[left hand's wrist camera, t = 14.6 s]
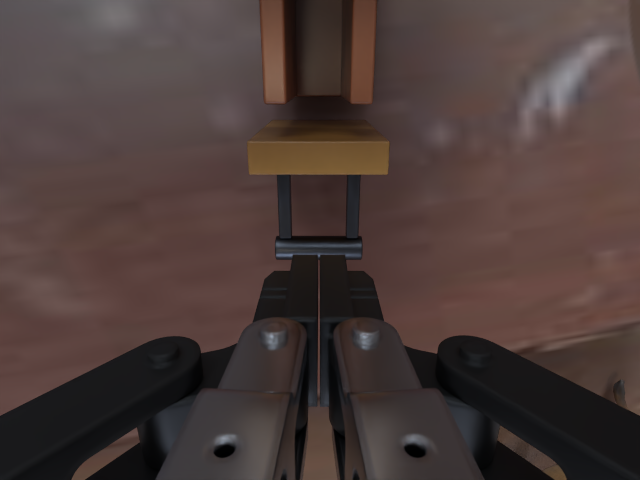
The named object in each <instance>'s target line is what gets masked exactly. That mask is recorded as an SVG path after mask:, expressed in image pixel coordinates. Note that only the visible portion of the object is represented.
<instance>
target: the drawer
mask: <svg viewBox="0 0 640 480" xmlns="http://www.w3.org/2000/svg"><path fill="white" fill-rule="evenodd" d="M259 4H260V26H261V48H262V70H263V92H264V103H265V104H286V103H287V102H289V101H290V100H292V99H293V98H294V97H296V96H342V97H343V98H344V99H346V100H347V101H348V102H349V103H351V104H372V102H373V88H374V65H375V42H376V19H377V0H259ZM389 148H390V142H389V141H388V140H387V139H386V138H385V137H384V136H382V135H381V134H380V133H379V132H378V131H377V130H376V129H375V128H374V127H372V126H371V125H370V124H369V123H368V122H367V121H366V120H272V121H271V122H270V123H269V124H267V125H266V126H265V127H264V128H263V129H262V130H260V131H259V132H258V133H257V134H256V135H255V136H253V137H252V138H251V139H250V140H249V141H248V142H247V151H248V167H249V174H250V175H277V186H278V213H279V236H276V240H275V256H276V259H277V260H292V257H293V255H318V260H320V255H345V258H346V260H361V259H362V237H361V236H358V229H359V200H360V175H387V174H388V165H389ZM291 175H347V194H346V236H292V209H291Z"/></svg>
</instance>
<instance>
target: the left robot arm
mask: <svg viewBox="0 0 640 480" xmlns="http://www.w3.org/2000/svg"><path fill="white" fill-rule="evenodd" d="M317 369H318V255H293V257H292V263H291V270H290V271H274V272H273V273H271V274H270V275H269V276H268V277H267V278H265V280H264V284H263V287H262V291H261V294H260V299H259V302H258V305H257V309H256V312H255V316H254V320H253V323H252V324H250V325H249V326H247V327H246V328H245V329H244V330H243V332H242V334H241V336H240V338H239V341H238V343H236V344H234V345H232V346H230V347H227V348H224V349H220V350H216V351H211V352H206V353H201V350H200V347H199V345H198V344H197V343H196V342H195V341H194V340H192V339H190V338H186V337H180V336H171V337H163V338H159V339H155V340H152V341H149V342H147V343H145V344H143V345H141V346H139V347H137V348H135V349H133V350H131V351H129V352H127V353H125V354H123V355H121V356H119V357H117V358H115V359H113V360H111V361H109V362H107V363H105V364H103V365H101V366H99V367H97V368H95V369H93V370H91V371H89V372H87V373H85V374H83V375H81V376H79V377H77V378H75V379H73V380H71V381H69V382H67V383H65V384H63V385H61V386H59V387H57V388H55V389H53V390H51V391H49V392H47V393H45V394H43V395H41V396H39V397H37V398H35V399H33V400H31V401H29V402H27V403H25V404H23V405H21V406H19V407H17V408H15V409H13V410H11V411H9V412H7V413H5V414H3V415H1V416H0V480H71V479H72V477H73V475H74V473H75V472H76V470H77V469H78V468H79V466H80V465H81V464H82V463H83V462H85V461H86V460H87V459H88V458H90V457H91V456H93V455H94V454H96V453H98V452H99V451H101V450H102V449H104V448H105V447H107V446H108V445H110V444H111V443H113V442H114V441H116V440H118V439H119V438H121V437H122V436H124V435H125V434H127V433H128V432H130V431H131V430H133V429H134V428H136V427H137V430H138V435H139V440H140V443H138V444H137V445H135V446H134V447H132V448H131V449H129V450H128V451H127V452H125V453H124V454H122V455H121V456H119V457H118V458H116V459H115V460H113V461H112V462H110V463H109V464H107V465H106V466H105V467H103V468H102V469H100V470H99V471H97V472H96V473H94V474H93V475H91V476H90V477H88V478H87V479H85V480H303V472H304V464H305V456H306V449H307V441H308V406H317ZM320 407H329V419H330V422H331V425H332V441H333V449H334V456H335V464H336V472H337V480H554V479H553V478H552V477H550V476H549V475H547V474H546V473H544V472H543V471H541V470H540V469H538V468H537V467H535V466H534V465H533V464H531V463H530V462H528V461H527V460H525V459H524V458H522V457H521V456H519V455H518V454H516V453H515V452H513V451H512V450H511V449H509V448H508V447H506V446H505V445H503V444H502V443H500V442H499V441H497V438H498V433H499V428H500V425H501V426H502V427H504V428H506V429H507V430H509V431H510V432H512V433H513V434H515V435H516V436H518V437H519V438H521V439H522V440H524V441H526V442H527V443H529V444H530V445H532V446H533V447H535V448H536V449H538V450H539V451H541V452H542V453H544V454H546V455H547V456H549V457H550V458H551V459H552V460H554V461H555V462H556V463H557V464H558V465H559V467H560V468H561V469H562V471H563V472H564V474H565V476H566V479H567V480H640V416H639V415H637V414H635V413H633V412H631V411H629V410H627V409H625V408H623V407H621V406H619V405H617V404H615V403H613V402H611V401H609V400H607V399H605V398H603V397H601V396H599V395H597V394H595V393H593V392H591V391H589V390H587V389H585V388H583V387H581V386H579V385H577V384H575V383H573V382H571V381H569V380H567V379H565V378H563V377H561V376H559V375H557V374H555V373H553V372H551V371H549V370H547V369H545V368H543V367H541V366H539V365H537V364H535V363H533V362H531V361H529V360H527V359H525V358H523V357H521V356H519V355H517V354H515V353H513V352H511V351H509V350H507V349H505V348H503V347H501V346H499V345H497V344H495V343H493V342H491V341H489V340H486V339H483V338H479V337H474V336H465V335H464V336H453V337H449V338H447V339H445V340H444V341H442V342H441V343H440V344H439V347H438V353H437V354H435V353H430V352H425V351H420V350H416V349H412V348H410V347H407V346H405V345H403V343H402V341H401V338H400V336H399V334H398V332H397V330H396V329H395V328H394V327H393V326H391V325H390V324H388V323H386V322H384V319H383V315H382V311H381V307H380V304H379V300H378V296H377V292H376V290H375V285H374V281H373V279H372V278H371V277H370V276H369V275H367V274H366V273H365V272H364V271H347V265H346V258H345V255H320Z"/></svg>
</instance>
